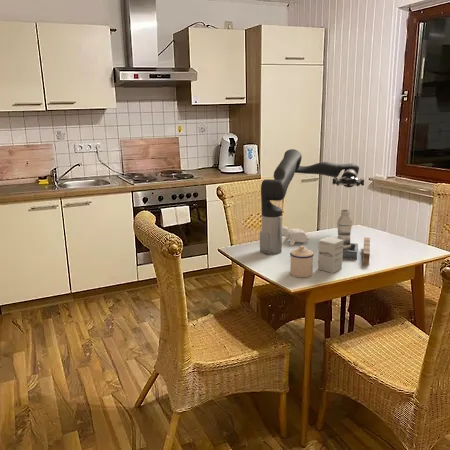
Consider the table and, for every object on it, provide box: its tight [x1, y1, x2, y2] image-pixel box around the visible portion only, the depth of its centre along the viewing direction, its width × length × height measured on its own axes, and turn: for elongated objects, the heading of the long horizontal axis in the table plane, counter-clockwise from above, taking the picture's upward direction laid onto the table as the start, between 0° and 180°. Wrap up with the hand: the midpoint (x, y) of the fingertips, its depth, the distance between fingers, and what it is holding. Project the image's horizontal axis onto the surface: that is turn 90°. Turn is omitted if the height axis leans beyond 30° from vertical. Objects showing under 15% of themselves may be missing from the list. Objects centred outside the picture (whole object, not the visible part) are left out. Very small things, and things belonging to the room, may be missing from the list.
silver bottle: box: [336, 209, 353, 251], centre depth 200 cm, size 6×7×20 cm
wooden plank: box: [362, 236, 371, 266], centre depth 199 cm, size 24×2×5 cm, turn 163°
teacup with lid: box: [289, 245, 314, 279], centre depth 179 cm, size 12×9×12 cm
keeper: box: [342, 242, 359, 260], centre depth 202 cm, size 12×12×4 cm
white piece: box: [282, 225, 310, 246], centre depth 219 cm, size 9×8×15 cm
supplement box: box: [317, 236, 344, 274], centre depth 182 cm, size 7×7×13 cm
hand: (347, 183), depth 205 cm, fingers open, 8 cm apart
